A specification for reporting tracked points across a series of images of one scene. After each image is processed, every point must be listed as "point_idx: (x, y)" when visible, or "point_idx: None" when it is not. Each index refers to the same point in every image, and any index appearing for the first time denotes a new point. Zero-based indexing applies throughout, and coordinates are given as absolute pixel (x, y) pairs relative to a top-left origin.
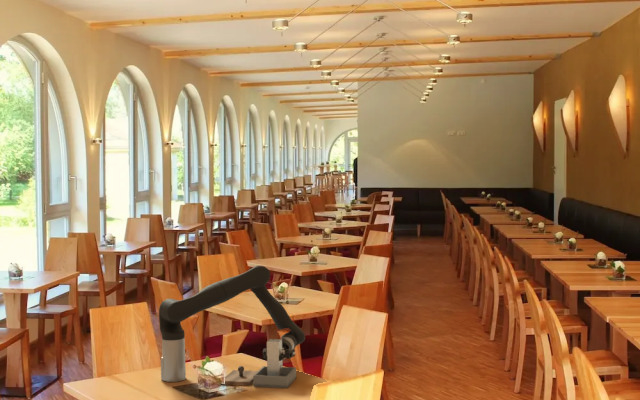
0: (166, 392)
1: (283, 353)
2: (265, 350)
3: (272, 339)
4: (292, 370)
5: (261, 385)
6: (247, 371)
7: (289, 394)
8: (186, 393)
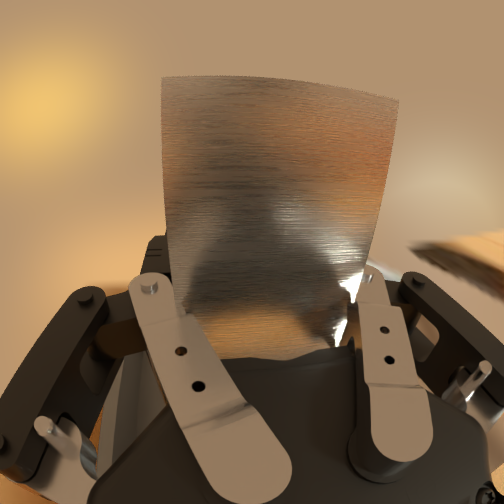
0: (471, 245)
1: (148, 277)
2: (451, 320)
3: (339, 87)
4: (108, 420)
5: None
6: (491, 454)
7: (125, 285)
8: (439, 246)
